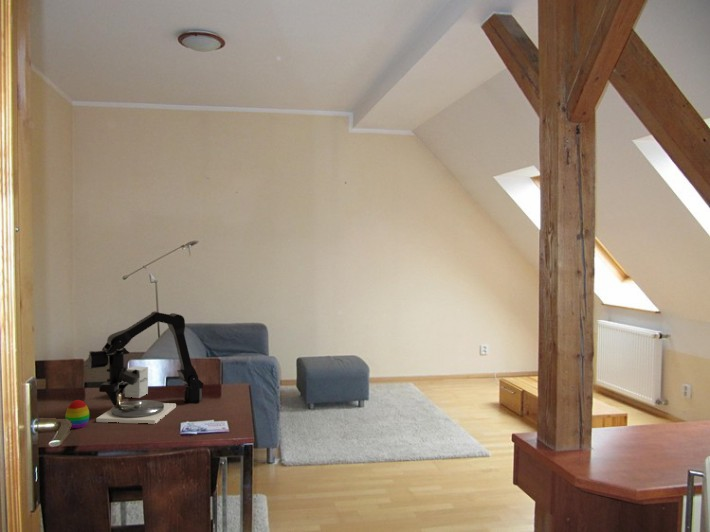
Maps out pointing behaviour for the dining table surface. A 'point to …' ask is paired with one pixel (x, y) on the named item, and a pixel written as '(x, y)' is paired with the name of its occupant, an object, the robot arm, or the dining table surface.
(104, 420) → the base plate
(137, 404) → the handwheel
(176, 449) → the dining table surface
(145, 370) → the supplement box
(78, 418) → the decorative egg
